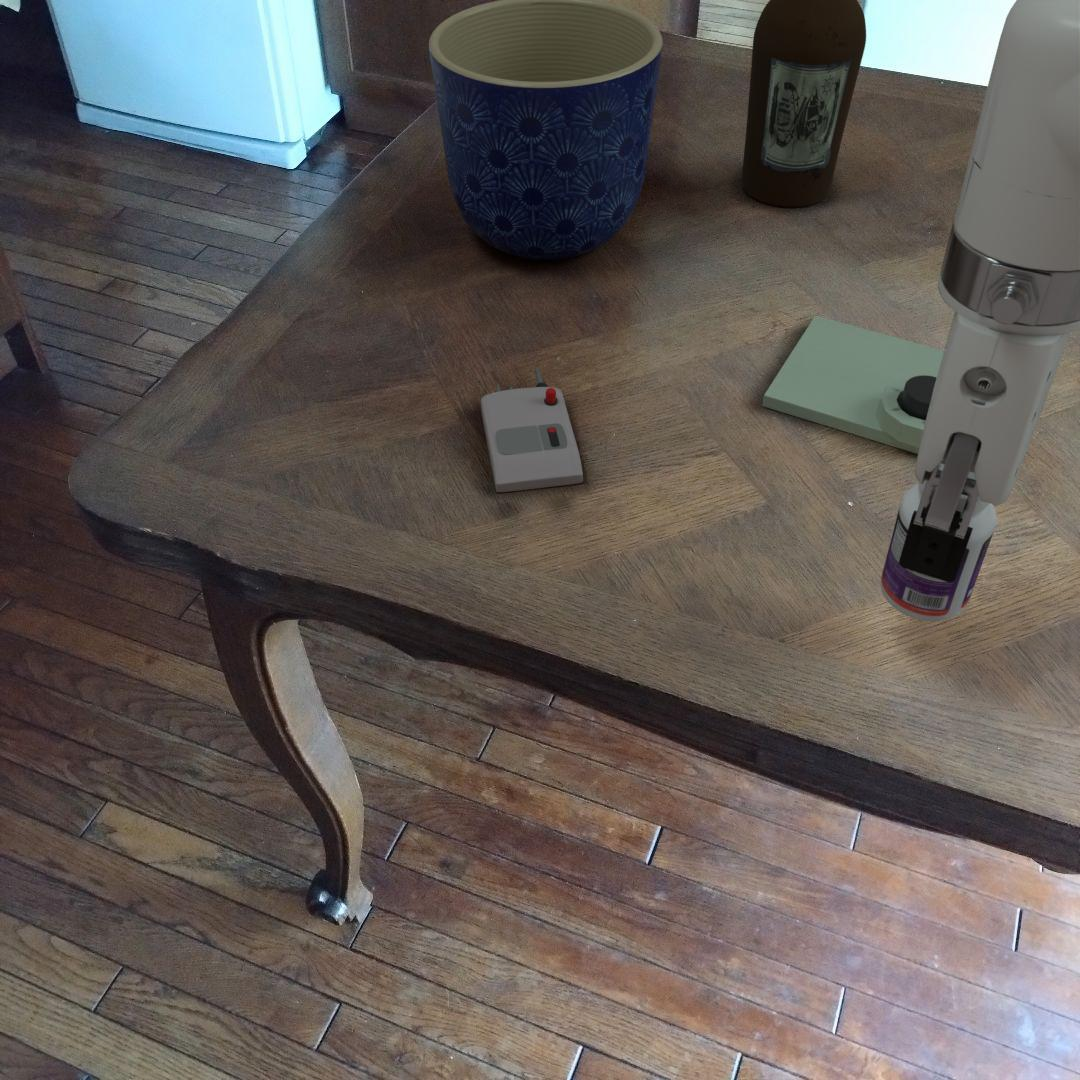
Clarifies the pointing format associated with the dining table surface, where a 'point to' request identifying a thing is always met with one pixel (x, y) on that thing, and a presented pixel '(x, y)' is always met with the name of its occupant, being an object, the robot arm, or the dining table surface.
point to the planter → (546, 120)
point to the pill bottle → (927, 593)
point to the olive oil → (800, 97)
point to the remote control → (530, 438)
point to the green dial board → (853, 382)
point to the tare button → (918, 396)
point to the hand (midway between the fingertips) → (940, 536)
